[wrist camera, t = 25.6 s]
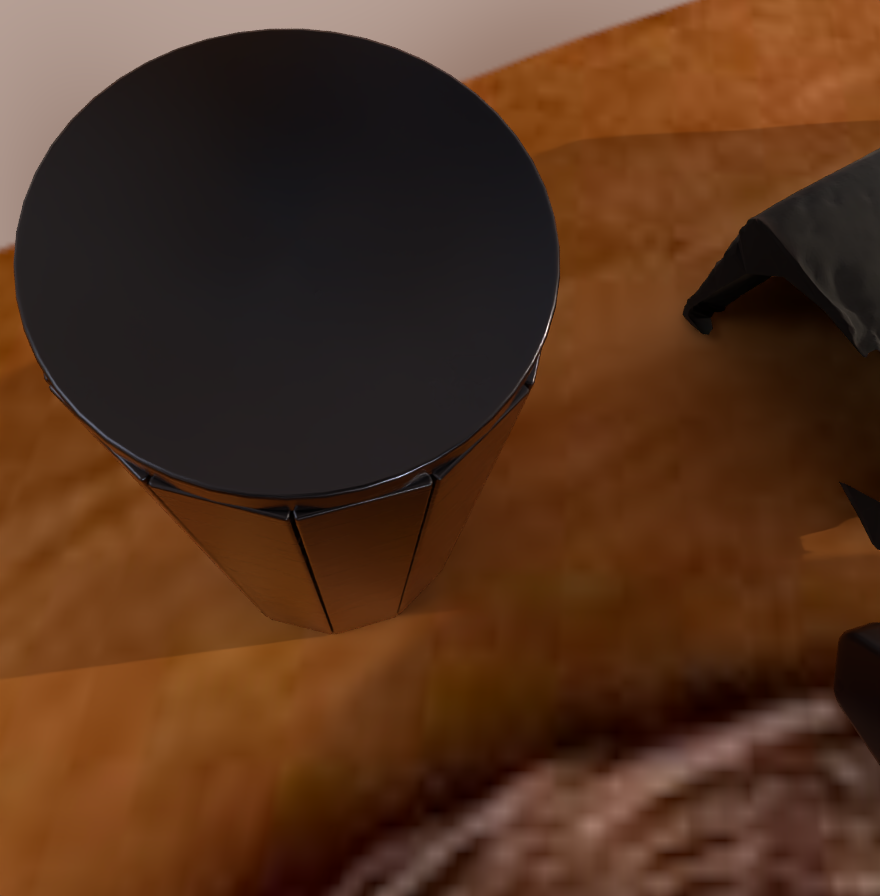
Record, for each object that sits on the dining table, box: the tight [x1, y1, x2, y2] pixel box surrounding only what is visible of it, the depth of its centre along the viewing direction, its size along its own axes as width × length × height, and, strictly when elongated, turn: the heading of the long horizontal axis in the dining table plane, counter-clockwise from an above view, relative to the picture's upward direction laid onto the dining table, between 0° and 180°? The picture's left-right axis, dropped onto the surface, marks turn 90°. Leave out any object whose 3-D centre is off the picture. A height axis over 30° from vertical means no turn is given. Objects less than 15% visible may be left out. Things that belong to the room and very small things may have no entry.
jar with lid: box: [14, 29, 560, 634], centre depth 17 cm, size 7×7×14 cm
